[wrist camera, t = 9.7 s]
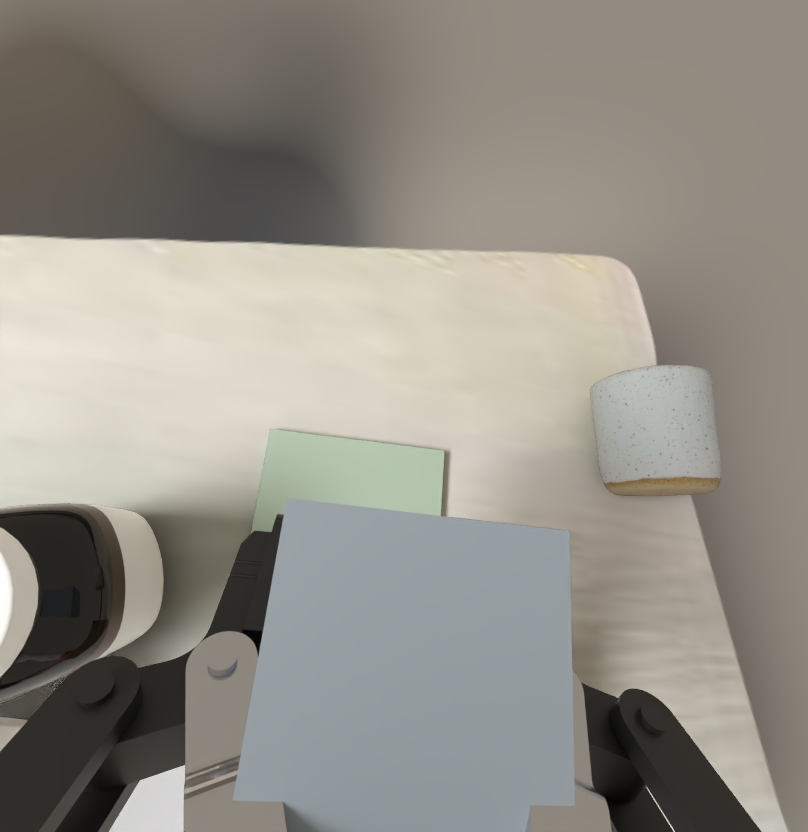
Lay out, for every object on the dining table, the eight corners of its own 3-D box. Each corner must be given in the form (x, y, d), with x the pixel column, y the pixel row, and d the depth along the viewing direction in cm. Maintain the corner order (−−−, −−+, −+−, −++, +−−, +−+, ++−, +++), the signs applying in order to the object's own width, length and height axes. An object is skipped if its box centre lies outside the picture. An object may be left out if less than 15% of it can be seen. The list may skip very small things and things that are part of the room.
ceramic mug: (582, 499, 32) (661, 486, 24) (569, 394, 34) (638, 355, 27) (702, 499, 34) (809, 488, 26) (682, 401, 36) (775, 366, 29)
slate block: (283, 669, 15) (215, 892, 5) (307, 523, 16) (287, 497, 7) (426, 678, 16) (585, 886, 6) (436, 537, 17) (577, 531, 8)
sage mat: (238, 607, 26) (236, 608, 25) (271, 430, 29) (270, 428, 28) (432, 619, 27) (434, 621, 27) (442, 452, 31) (444, 450, 30)
